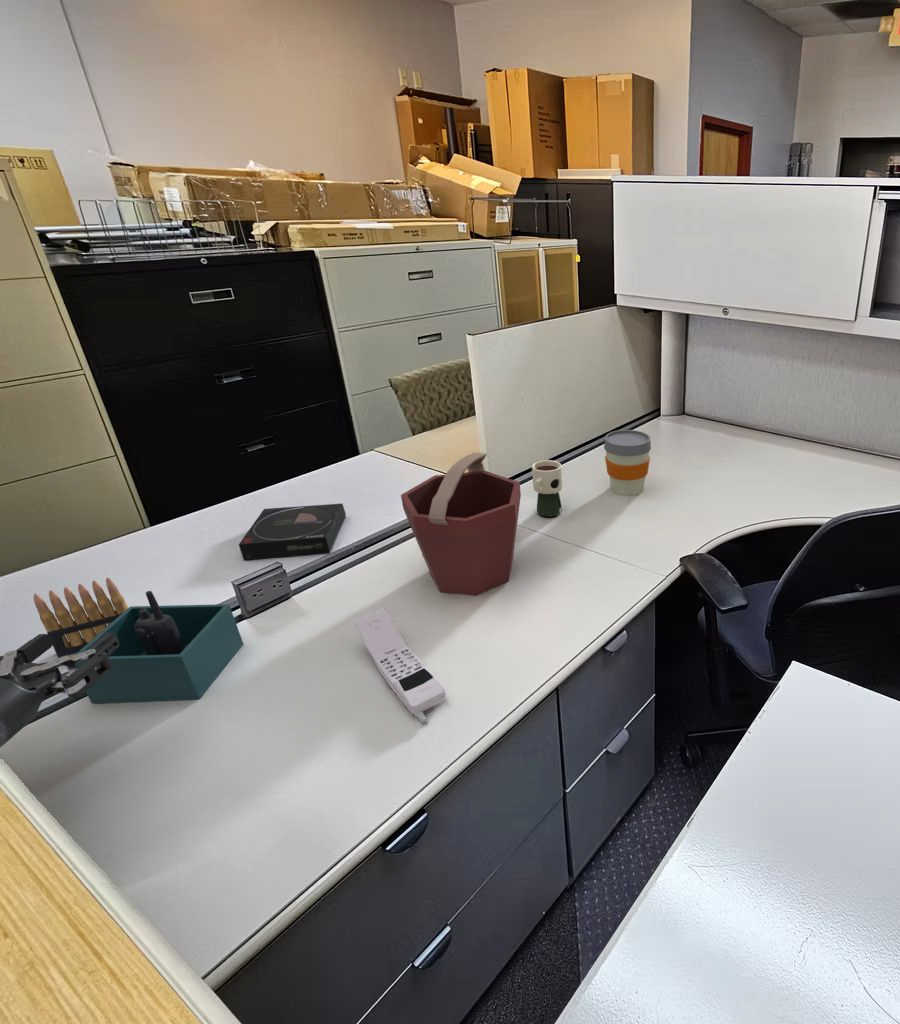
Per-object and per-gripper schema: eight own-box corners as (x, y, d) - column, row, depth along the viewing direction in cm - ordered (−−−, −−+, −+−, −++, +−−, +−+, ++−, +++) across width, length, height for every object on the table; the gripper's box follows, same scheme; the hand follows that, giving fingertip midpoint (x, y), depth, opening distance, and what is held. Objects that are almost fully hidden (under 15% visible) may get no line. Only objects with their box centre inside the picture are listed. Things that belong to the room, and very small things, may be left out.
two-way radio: (197, 661, 102) (166, 586, 95) (176, 680, 98) (142, 603, 91) (164, 659, 102) (131, 584, 95) (142, 678, 98) (106, 601, 91)
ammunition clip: (140, 629, 109) (115, 573, 104) (140, 635, 108) (114, 578, 103) (59, 651, 104) (27, 592, 98) (57, 657, 102) (25, 598, 97)
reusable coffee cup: (596, 492, 167) (595, 440, 160) (618, 476, 177) (618, 426, 170) (637, 502, 163) (638, 449, 156) (657, 484, 173) (659, 434, 166)
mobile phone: (385, 605, 109) (450, 679, 94) (392, 632, 112) (456, 708, 96) (350, 620, 105) (411, 699, 90) (357, 647, 108) (418, 728, 93)
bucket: (466, 536, 143) (452, 435, 132) (551, 554, 138) (544, 451, 126) (391, 592, 123) (368, 478, 111) (488, 617, 117) (474, 500, 105)
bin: (91, 703, 94) (68, 660, 90) (148, 647, 106) (130, 606, 102) (199, 699, 96) (181, 656, 92) (243, 644, 107) (229, 603, 103)
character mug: (552, 525, 150) (549, 476, 144) (526, 519, 152) (522, 471, 146) (571, 506, 159) (570, 459, 153) (547, 501, 161) (544, 455, 155)
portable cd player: (346, 517, 149) (342, 502, 147) (330, 553, 134) (325, 537, 132) (269, 522, 145) (265, 507, 143) (244, 560, 130) (238, 544, 128)
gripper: (20, 702, 68) (127, 614, 83) (-122, 705, 67) (11, 616, 81) (48, 750, 71) (146, 658, 86) (-86, 755, 70) (36, 661, 85)
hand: (81, 638), depth 84 cm, fingers open, 8 cm apart
